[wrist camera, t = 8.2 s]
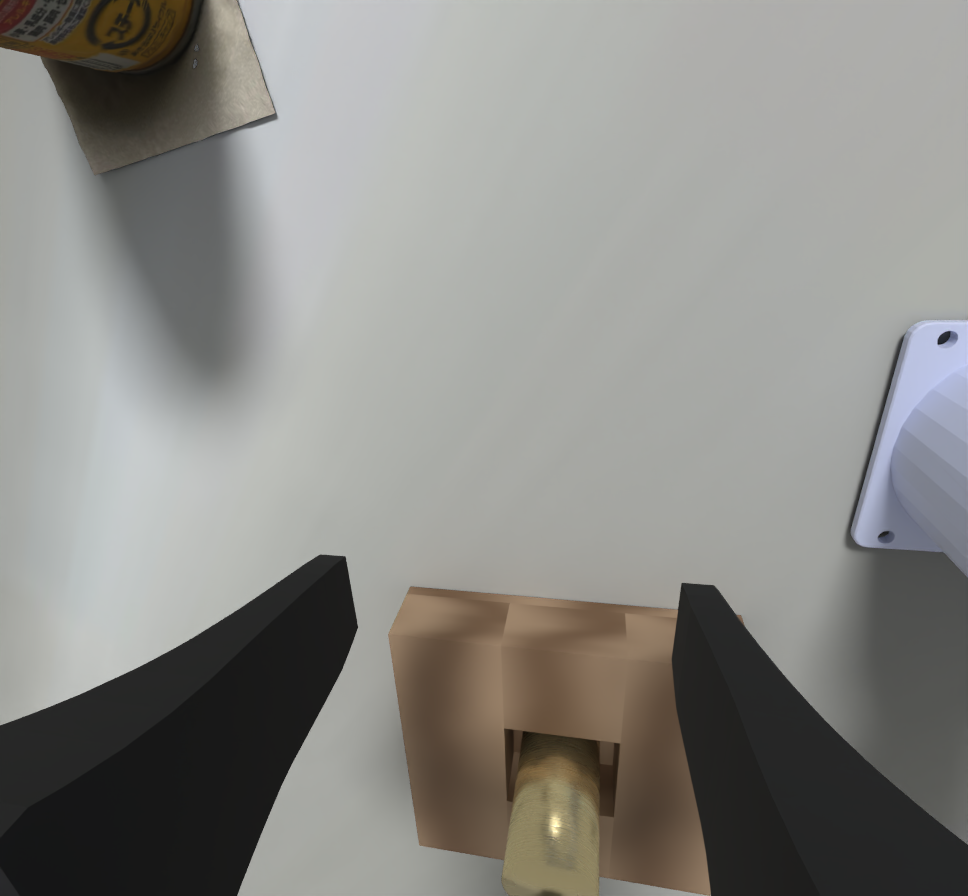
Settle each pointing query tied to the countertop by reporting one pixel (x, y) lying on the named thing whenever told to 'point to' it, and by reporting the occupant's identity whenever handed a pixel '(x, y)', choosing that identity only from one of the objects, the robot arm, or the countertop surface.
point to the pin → (554, 818)
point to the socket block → (546, 722)
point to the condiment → (142, 70)
